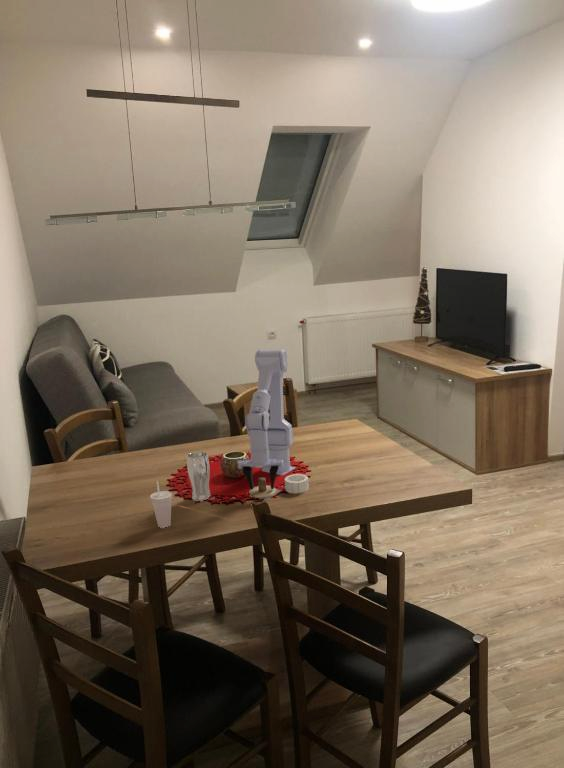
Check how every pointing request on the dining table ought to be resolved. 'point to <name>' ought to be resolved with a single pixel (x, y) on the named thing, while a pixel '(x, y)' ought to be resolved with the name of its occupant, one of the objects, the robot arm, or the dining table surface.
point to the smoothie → (162, 507)
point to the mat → (273, 495)
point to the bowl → (296, 483)
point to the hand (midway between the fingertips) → (262, 488)
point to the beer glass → (199, 475)
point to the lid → (262, 489)
